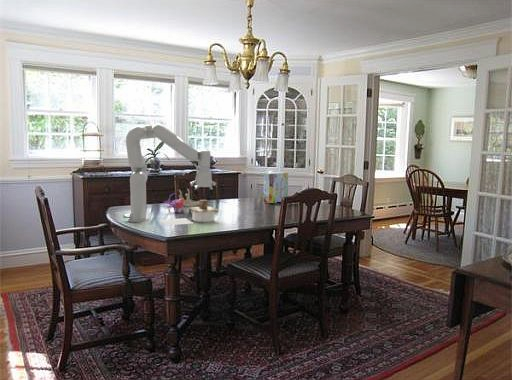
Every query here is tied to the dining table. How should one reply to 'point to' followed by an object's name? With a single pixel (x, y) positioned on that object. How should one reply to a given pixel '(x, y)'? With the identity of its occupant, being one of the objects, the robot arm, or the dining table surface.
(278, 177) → the snack box
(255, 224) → the dining table surface
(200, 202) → the birch lid
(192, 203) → the jawbone
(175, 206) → the heart model
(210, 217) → the ceramic bowl
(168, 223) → the grey mat
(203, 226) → the dining table surface
